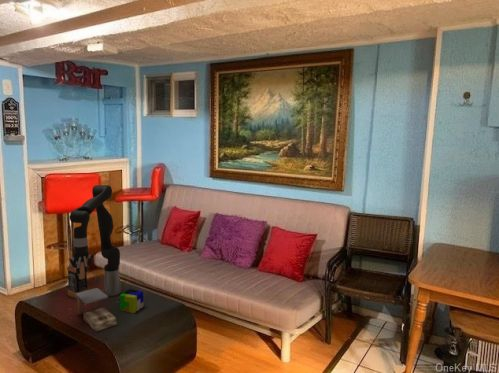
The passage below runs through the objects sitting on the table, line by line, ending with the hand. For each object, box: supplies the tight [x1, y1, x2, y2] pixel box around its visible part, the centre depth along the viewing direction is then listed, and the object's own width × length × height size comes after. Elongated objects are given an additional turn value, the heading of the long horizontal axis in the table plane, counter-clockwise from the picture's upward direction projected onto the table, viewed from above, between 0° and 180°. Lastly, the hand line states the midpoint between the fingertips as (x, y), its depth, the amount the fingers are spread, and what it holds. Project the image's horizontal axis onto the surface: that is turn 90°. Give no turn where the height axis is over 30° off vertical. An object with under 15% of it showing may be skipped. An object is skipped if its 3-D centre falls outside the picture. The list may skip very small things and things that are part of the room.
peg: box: [79, 262, 85, 279], centre depth 229 cm, size 3×3×10 cm
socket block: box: [82, 306, 118, 332], centre depth 227 cm, size 12×18×4 cm, turn 43°
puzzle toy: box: [119, 288, 145, 314], centre depth 244 cm, size 10×10×10 cm
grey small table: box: [76, 287, 109, 315], centre depth 234 cm, size 13×16×13 cm
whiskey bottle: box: [66, 248, 89, 300], centre depth 261 cm, size 10×10×32 cm
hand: (81, 273), depth 229 cm, fingers closed on peg, 3 cm apart
